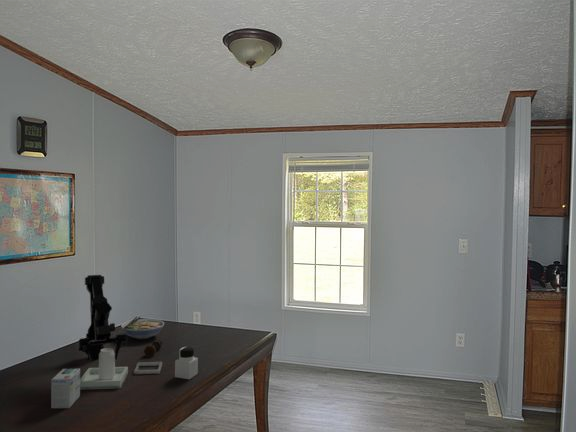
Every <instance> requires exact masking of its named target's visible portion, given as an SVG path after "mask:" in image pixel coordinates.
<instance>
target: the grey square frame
mask: <svg viewBox="0 0 576 432" xmlns="http://www.w3.org/2000/svg"><path fill="white" fill-rule="evenodd" d="M156 366H158V368H157V369H140V367H156ZM162 366H163V361H148V362H146V361H145V362H144V361H143V362H140V361H139V362H137V363H136V367H134V369H133V375H151V374H152V375H153V374H161V373H160V372H161V370H162Z"/></svg>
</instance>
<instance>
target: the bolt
mask: <svg viewBox="0 0 576 432" xmlns="http://www.w3.org/2000/svg"><path fill="white" fill-rule="evenodd" d="M162 346H163V342H162V341H161V340H153V342H152V343H151V345H150V344H149V345H146V346H145V348H144V350H143V352H144V355H145V357H154V356H155V354H156V353H157V351H160V349H161V347H162Z"/></svg>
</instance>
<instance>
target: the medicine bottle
mask: <svg viewBox="0 0 576 432" xmlns="http://www.w3.org/2000/svg"><path fill="white" fill-rule="evenodd" d="M194 350H195V348H193V347H191V346H184V347H181V348H180V349H179V355H178V356H179V358H178V359H176V360H175V361H174V378H177V379H178V378H179V379H185V380H191V379H192V378H194V377H195V376H197V375H199V374H198V371H199V370H198V369H199V367H198V366H199V365H198V364H199V357H195V351H194Z"/></svg>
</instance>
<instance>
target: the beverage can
mask: <svg viewBox="0 0 576 432" xmlns="http://www.w3.org/2000/svg"><path fill="white" fill-rule="evenodd" d="M115 367H116V359H115V350H114V348H112V347H104V349H101V352H100V353H99V359H98V368H99V379H101V380H110V379H112V378H113V377H114V376H115Z"/></svg>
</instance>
